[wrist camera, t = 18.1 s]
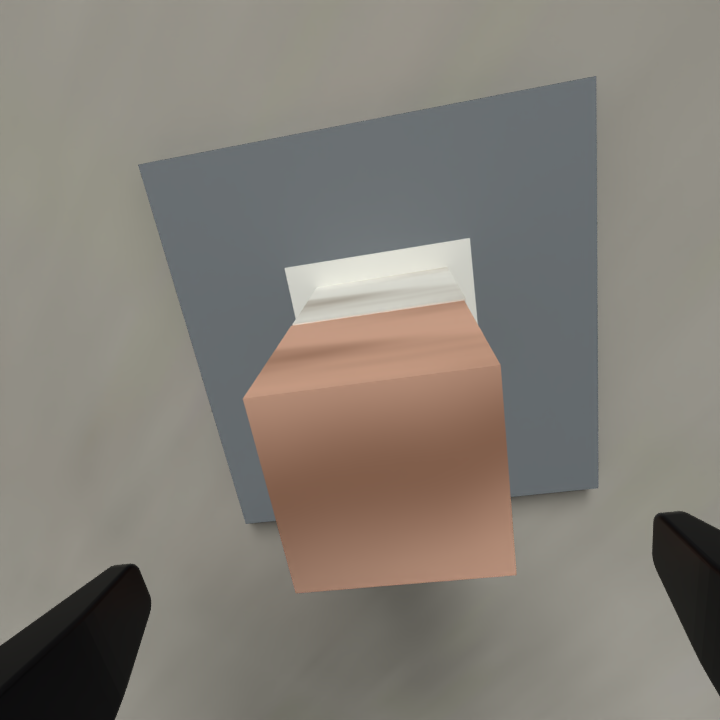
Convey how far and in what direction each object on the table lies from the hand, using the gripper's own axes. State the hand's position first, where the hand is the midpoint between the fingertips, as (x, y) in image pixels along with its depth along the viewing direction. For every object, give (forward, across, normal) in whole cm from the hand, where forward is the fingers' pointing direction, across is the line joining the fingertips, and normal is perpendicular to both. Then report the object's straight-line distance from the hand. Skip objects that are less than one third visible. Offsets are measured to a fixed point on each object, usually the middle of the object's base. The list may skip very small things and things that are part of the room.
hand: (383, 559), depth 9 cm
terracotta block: (+7, 0, 0) cm, 7 cm away
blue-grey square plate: (+13, 0, 0) cm, 13 cm away
